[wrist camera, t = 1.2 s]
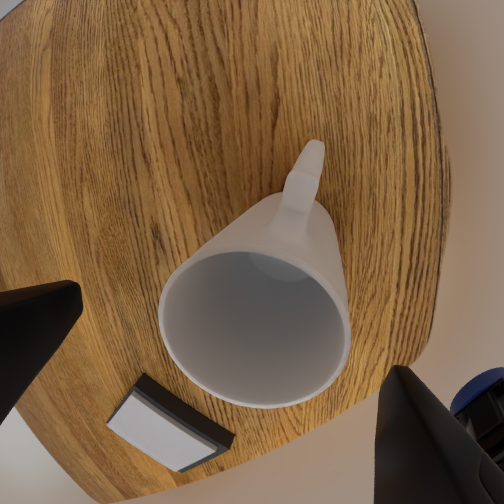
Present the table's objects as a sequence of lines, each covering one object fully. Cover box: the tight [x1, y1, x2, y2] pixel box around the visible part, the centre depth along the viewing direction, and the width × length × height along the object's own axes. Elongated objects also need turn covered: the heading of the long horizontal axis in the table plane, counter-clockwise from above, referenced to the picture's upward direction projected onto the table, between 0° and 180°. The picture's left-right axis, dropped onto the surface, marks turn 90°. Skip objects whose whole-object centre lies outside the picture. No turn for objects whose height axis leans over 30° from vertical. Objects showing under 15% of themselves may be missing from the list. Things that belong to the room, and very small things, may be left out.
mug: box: [158, 139, 351, 408], centre depth 15 cm, size 10×7×12 cm, turn 164°
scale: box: [106, 373, 235, 473], centre depth 31 cm, size 12×12×3 cm
